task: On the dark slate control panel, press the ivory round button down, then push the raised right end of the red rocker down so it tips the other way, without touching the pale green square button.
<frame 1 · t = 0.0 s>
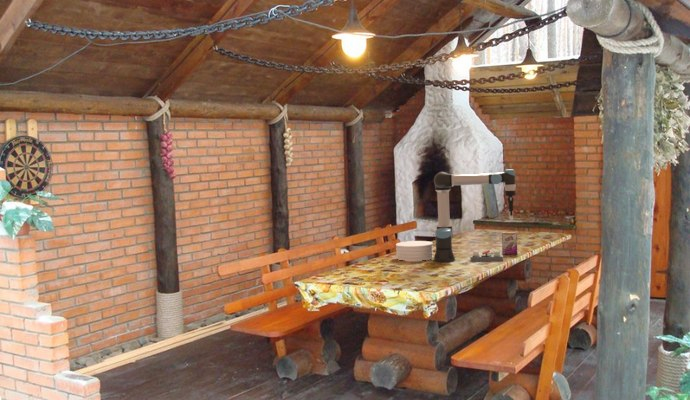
hand: (511, 218, 500), 28 cm above the table, tool pointing down, fingers open, 13 cm apart
rocker: (486, 252, 492), point 5 cm above the table, hinge at -20.0°
plate stack: (415, 258, 516), on the table
candy bar box: (510, 253, 515), on the table
panel: (486, 260, 492), on the table
round button: (475, 254, 493), point 5 cm above the table, slide at 0.0 cm
square button: (497, 253, 490), point 5 cm above the table, slide at 0.0 cm
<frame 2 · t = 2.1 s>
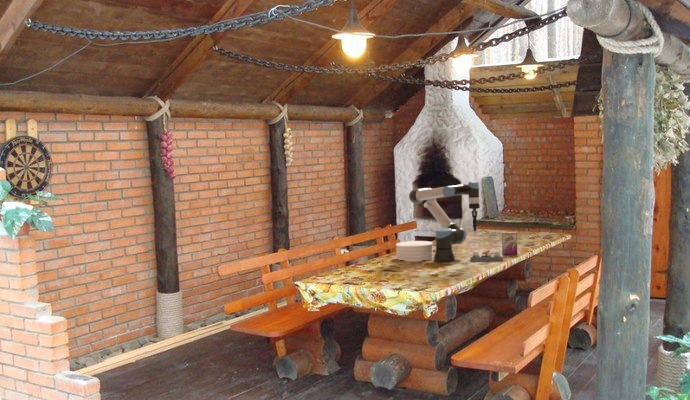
hand: (475, 234, 492), 19 cm above the table, tool pointing down, fingers open, 4 cm apart
nothing on the table moved.
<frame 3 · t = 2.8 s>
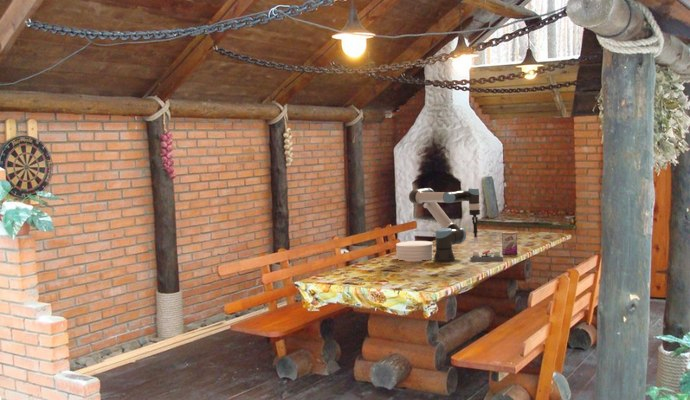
hand: (475, 241, 492), 14 cm above the table, tool pointing down, fingers closed
nothing on the table moved.
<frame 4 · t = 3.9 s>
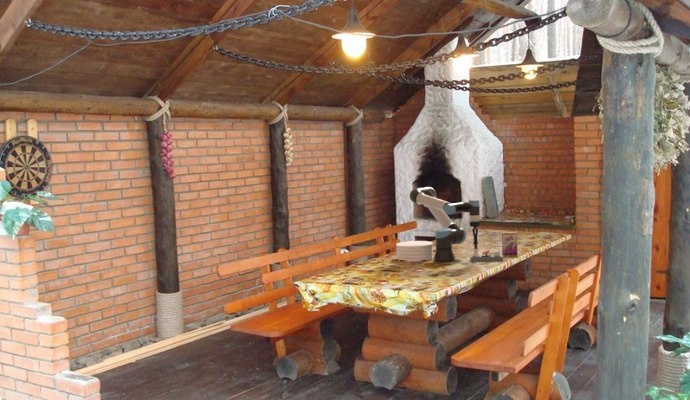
hand: (476, 252, 493), 5 cm above the table, tool pointing down, fingers closed
round button: (476, 256, 493), point 3 cm above the table, slide at 1.4 cm, touching gripper
everything else where it was.
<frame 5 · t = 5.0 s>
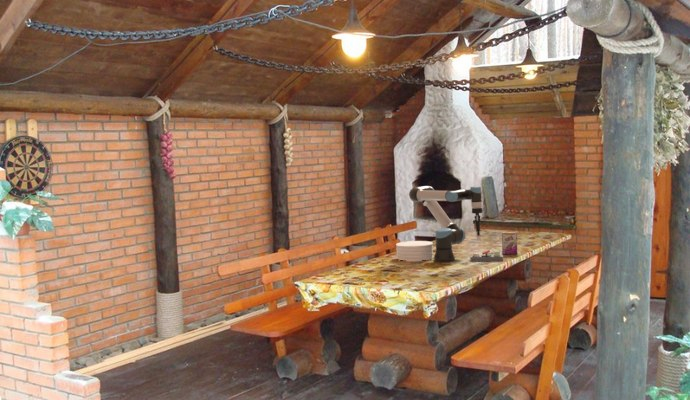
hand: (478, 240, 491), 15 cm above the table, tool pointing down, fingers closed
round button: (476, 256, 493), point 3 cm above the table, slide at 1.5 cm
everything else where it was.
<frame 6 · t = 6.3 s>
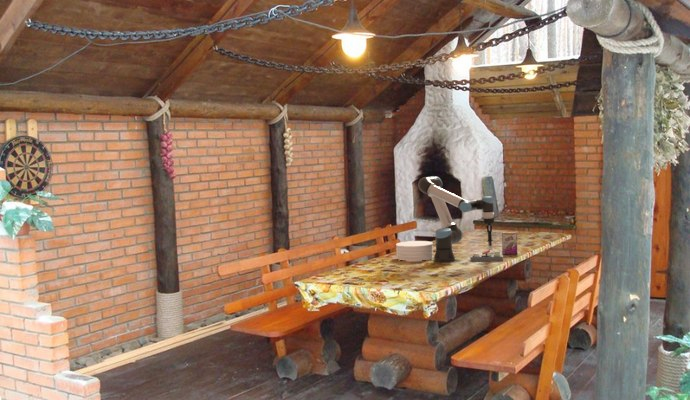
hand: (490, 250, 491), 7 cm above the table, tool pointing down, fingers closed
rocker: (486, 252, 492), point 5 cm above the table, hinge at -19.1°, touching gripper
everything else where it was.
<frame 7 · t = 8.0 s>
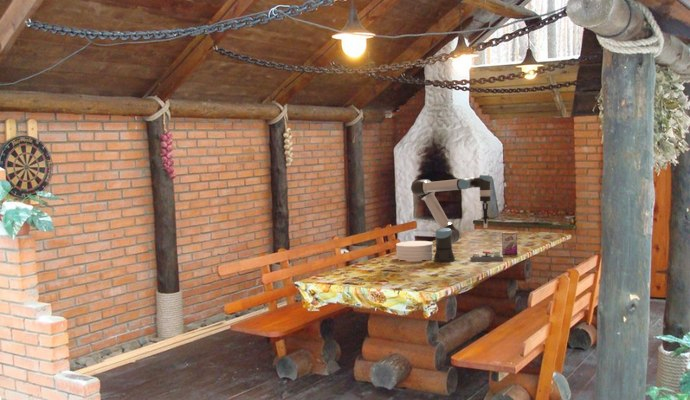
hand: (485, 227, 495), 23 cm above the table, tool pointing down, fingers closed
rocker: (486, 252, 492), point 5 cm above the table, hinge at 5.5°
everything else where it was.
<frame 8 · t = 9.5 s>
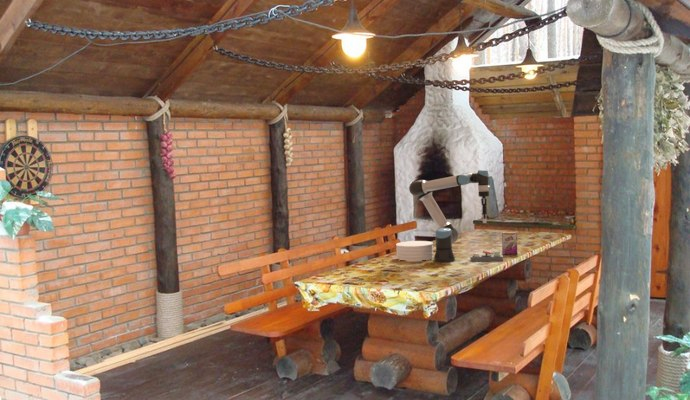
hand: (484, 222, 497), 26 cm above the table, tool pointing down, fingers closed
rocker: (486, 252, 492), point 5 cm above the table, hinge at 12.1°
everything else where it was.
at the end: round button slide at 1.5 cm; rocker at +12° (first picture: -20°); square button slide at 0.0 cm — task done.
